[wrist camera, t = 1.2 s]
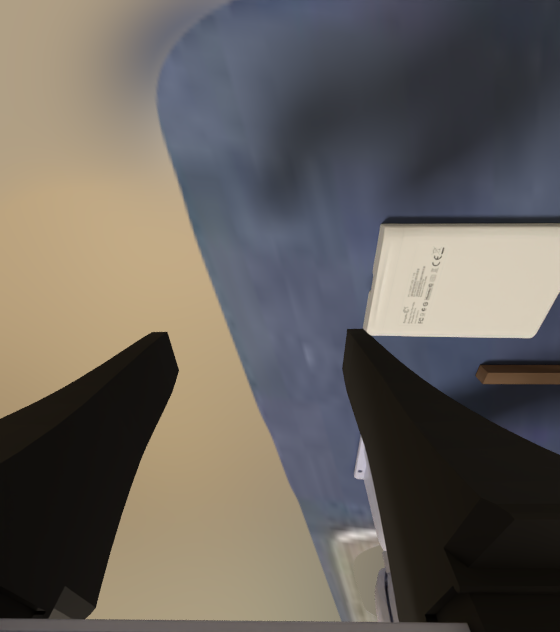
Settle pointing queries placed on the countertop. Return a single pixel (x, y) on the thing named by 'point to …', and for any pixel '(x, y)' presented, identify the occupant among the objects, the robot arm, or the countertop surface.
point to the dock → (519, 374)
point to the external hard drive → (463, 279)
